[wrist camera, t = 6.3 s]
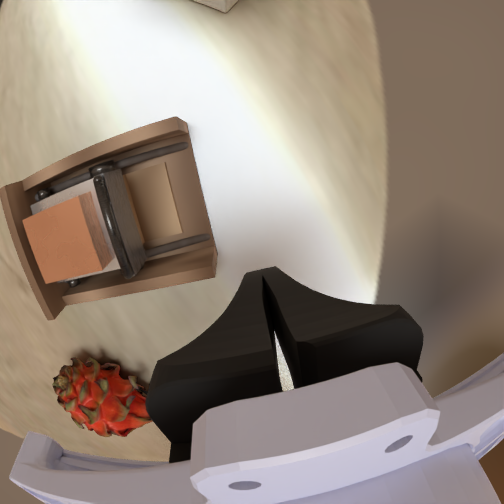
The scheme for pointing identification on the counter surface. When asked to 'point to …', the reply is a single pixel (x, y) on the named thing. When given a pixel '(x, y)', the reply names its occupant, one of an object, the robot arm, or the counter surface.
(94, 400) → the dragon fruit
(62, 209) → the wheeled platform dolly
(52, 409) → the counter surface
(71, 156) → the brown wooden open box
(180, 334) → the counter surface
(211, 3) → the supplement box
